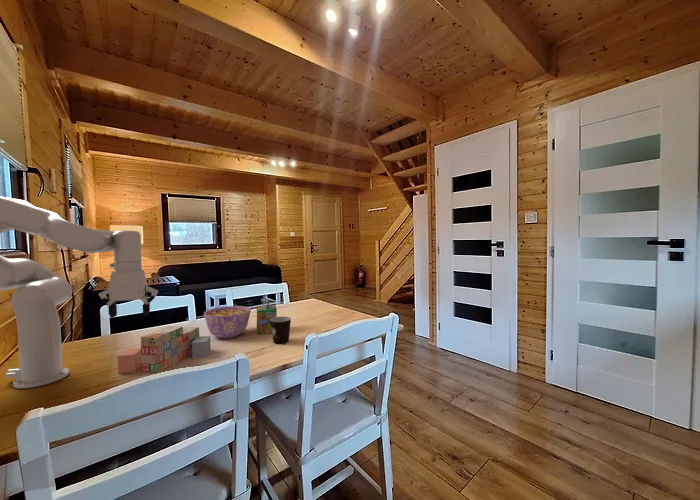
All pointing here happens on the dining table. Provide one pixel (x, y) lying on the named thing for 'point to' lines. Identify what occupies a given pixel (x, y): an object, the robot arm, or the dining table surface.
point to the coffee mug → (280, 329)
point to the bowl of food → (227, 320)
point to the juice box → (265, 318)
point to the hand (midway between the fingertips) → (129, 315)
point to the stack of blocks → (166, 347)
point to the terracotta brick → (129, 360)
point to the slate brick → (201, 347)
